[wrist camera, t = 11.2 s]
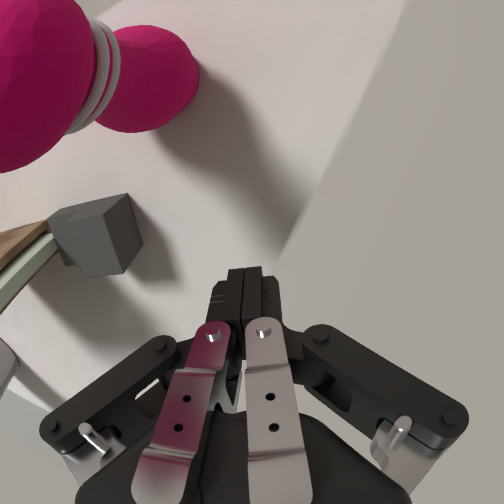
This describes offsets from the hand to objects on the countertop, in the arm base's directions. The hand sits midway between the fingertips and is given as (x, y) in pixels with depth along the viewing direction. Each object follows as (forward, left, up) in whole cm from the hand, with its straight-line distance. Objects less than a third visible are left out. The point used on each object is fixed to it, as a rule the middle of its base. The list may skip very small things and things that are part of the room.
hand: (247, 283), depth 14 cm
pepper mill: (-6, +11, -12) cm, 17 cm away
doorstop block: (-14, 0, -11) cm, 18 cm away
